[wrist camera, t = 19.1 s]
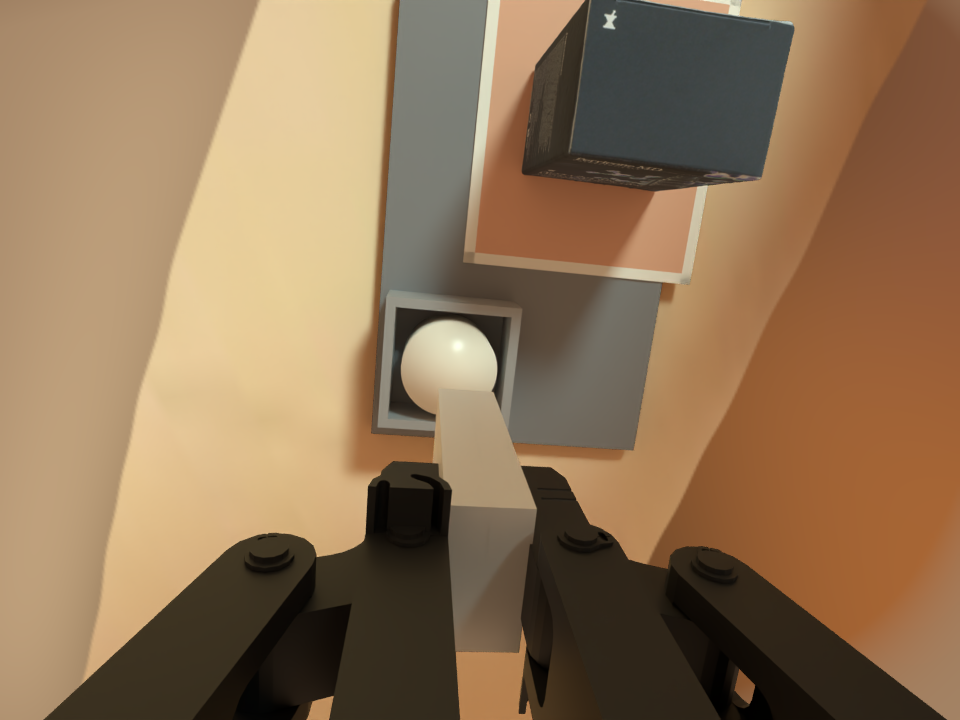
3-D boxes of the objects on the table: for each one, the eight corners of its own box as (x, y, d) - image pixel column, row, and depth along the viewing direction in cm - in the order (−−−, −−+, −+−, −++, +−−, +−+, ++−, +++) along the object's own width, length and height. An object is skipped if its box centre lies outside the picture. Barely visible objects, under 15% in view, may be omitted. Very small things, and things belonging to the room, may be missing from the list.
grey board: (731, 1, 31) (775, -30, 27) (652, 446, 37) (678, 472, 33) (404, -51, 29) (401, -92, 25) (372, 427, 35) (366, 453, 31)
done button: (495, 318, 33) (502, 327, 30) (486, 402, 34) (491, 419, 31) (406, 310, 32) (404, 318, 29) (400, 396, 33) (397, 412, 30)
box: (519, 177, 31) (565, 154, 21) (533, 63, 30) (589, -19, 20) (658, 194, 32) (766, 182, 22) (677, 85, 31) (801, 17, 21)
